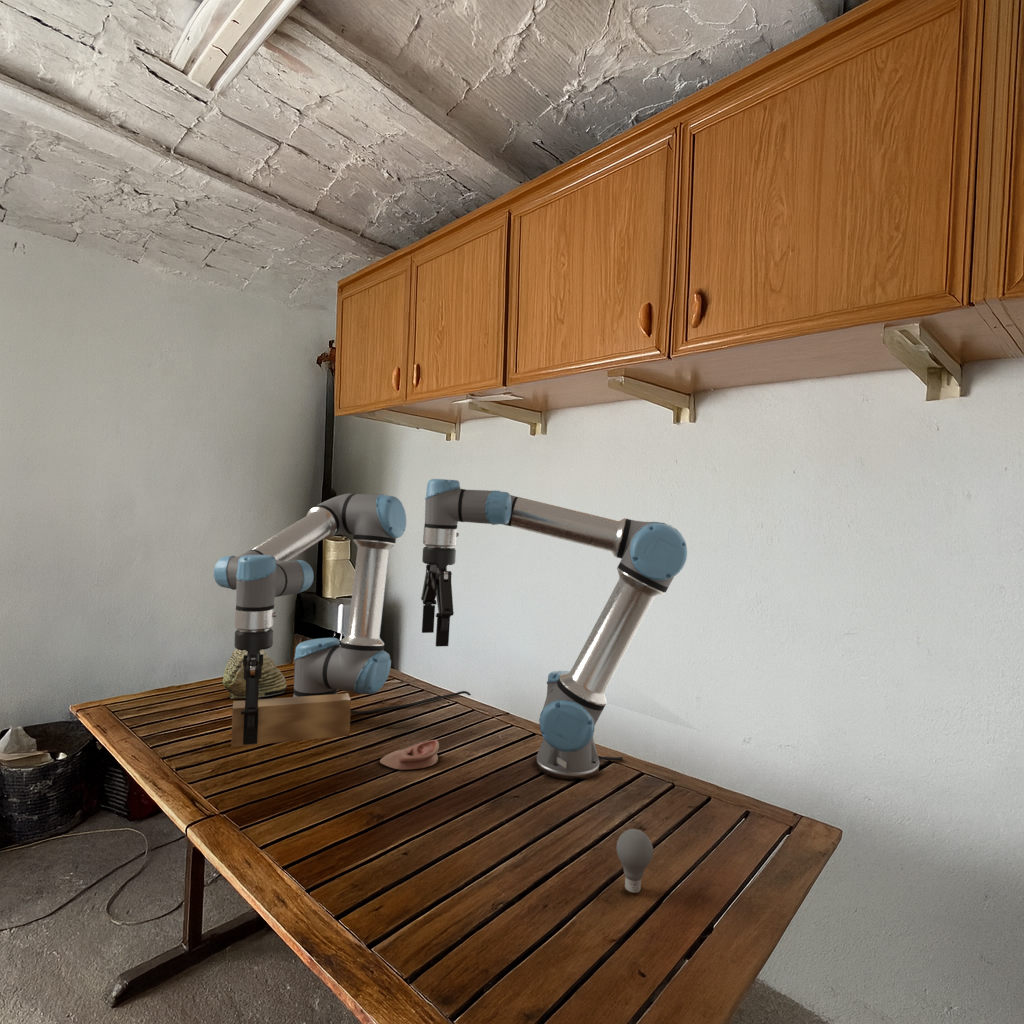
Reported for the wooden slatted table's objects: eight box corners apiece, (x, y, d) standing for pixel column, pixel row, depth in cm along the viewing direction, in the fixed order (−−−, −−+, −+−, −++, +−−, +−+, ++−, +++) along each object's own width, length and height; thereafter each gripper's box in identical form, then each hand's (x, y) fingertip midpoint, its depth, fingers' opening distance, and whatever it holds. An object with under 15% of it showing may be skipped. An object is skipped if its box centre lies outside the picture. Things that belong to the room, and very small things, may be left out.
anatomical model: (374, 749, 149) (393, 732, 160) (374, 766, 149) (393, 748, 161) (428, 756, 147) (443, 739, 158) (427, 774, 147) (443, 754, 158)
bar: (231, 747, 130) (232, 708, 130) (232, 738, 134) (233, 701, 134) (349, 736, 139) (351, 699, 138) (346, 728, 143) (348, 693, 143)
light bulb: (610, 879, 108) (613, 822, 108) (644, 879, 109) (647, 822, 109) (619, 902, 102) (622, 840, 102) (655, 901, 103) (658, 840, 103)
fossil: (218, 695, 195) (220, 647, 195) (278, 685, 208) (279, 640, 207) (228, 703, 189) (230, 653, 188) (289, 692, 201) (290, 645, 201)
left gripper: (273, 637, 126) (269, 753, 127) (272, 620, 143) (269, 722, 143) (232, 638, 123) (228, 757, 124) (236, 621, 140) (233, 725, 141)
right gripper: (471, 552, 134) (465, 651, 135) (441, 542, 158) (437, 627, 158) (437, 551, 132) (431, 652, 132) (412, 541, 155) (407, 627, 155)
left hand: (250, 738), depth 134 cm, fingers closed on bar, 5 cm apart
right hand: (434, 639), depth 145 cm, fingers open, 13 cm apart
